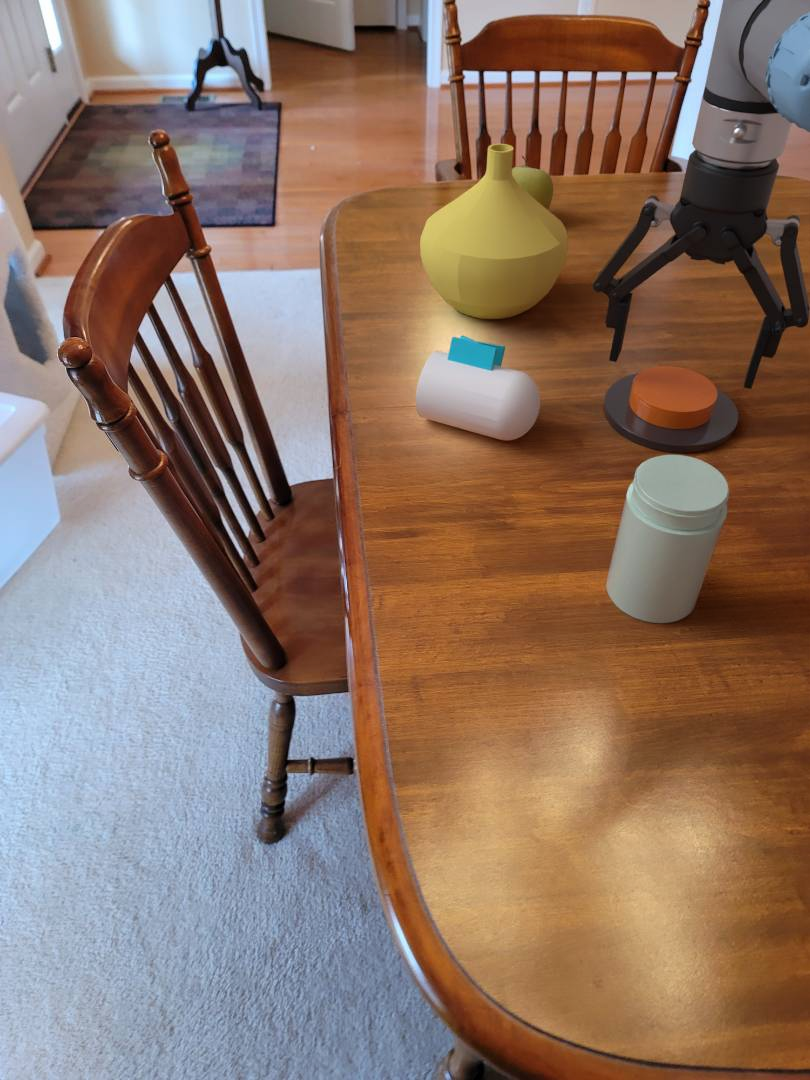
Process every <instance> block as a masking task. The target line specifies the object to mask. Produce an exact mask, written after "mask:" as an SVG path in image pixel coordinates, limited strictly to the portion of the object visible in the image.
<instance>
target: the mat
mask: <svg viewBox="0 0 810 1080" xmlns="http://www.w3.org/2000/svg"><path fill="white" fill-rule="evenodd" d="M638 373H639V372H637V373H633V374H630V375H626V376H624V377H621V378H620V379H618V380H616V381H615V382H614V383H613V384H611V385H610V387H608V389H607V390H606V392H605V395H604V401H603V414H604V417H605V419H606V421H607V423H608V424H609V425H610V426H611V427H612V428H613V429H614V430H615V431H616V432H617V433H618V434H619V435H621V436H622V437H624V438H626V439H628V440H629V441H631V442H633V443H635V444H637V445H640V446H643V447H645V448H648V449H652V450H656V451H661V452H666V453H674V454H694V453H702V452H707V451H710V450H713V449H715V448H716V449H717V448H718V447H721V446H722V445H723V444H725V443H726V442H728V441H729V440H730V439H731V438H732V436H733V435H734V434H735V432H736V429H737V425H738V422H739V412H738V408H737V406H736V404H735V403H734V401H733V400H732V399H731V398H730V397H729V396H728V395H727V394H726V393H725V392H724V391H723V390H721V389H720V388H719V387H717V386H715V387H716V389H717V393H718V396H717V400H716V403H715V406H714V410H713V413H712V416H711V418H710V419H709V420H708V421H707V422H706V423H705V424H703V425H701V426H698V427H695V428H691V429H668V428H663V427H659V426H656V425H653V424H650V423H648V422H646V421H644V420H643V419H641V418H640V417H638V416H637V415H636V414H635V413H634V412H633V411H632V409H631V407H630V404H629V398H630V393H631V388H632V384H633V380H634V378H635V376H636V375H637V374H638Z"/></svg>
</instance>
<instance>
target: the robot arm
mask: <svg viewBox="0 0 810 1080" xmlns="http://www.w3.org/2000/svg"><path fill="white" fill-rule="evenodd" d="M721 4H722V5H721V8H720V14H719V19H718V21H717V22H718V23H717V28H716V32H715V36H714V42H713V47H712V50H711V51H712V52H711V56H710V60H709V65H708V70H707V74H706V80H705V84H704V88H703V93H702V96H701V101H700V106H699V109H698V110H699V111H698V114H697V119H696V124H695V129H694V132H693V138H692V142H691V144H692V146H693V148H694V150H693V151H692V152H691V153H690V154H689V155H688V160H687V165H686V169H685V173H684V178H683V183H682V187H681V192H680V195H679V199H678V201H677V203H676V204H675V205H673V204H670V203H669V204H668V203H665V202H661V201H660V199H659V197H658V196H656V195H649V196H648V197H647V198H646V201H645V202H644V204H643V206H642V208H641V210H640V213H639V217H638V219H637V222H636V223H635V225H634V226H633V227H632V228H631V230H630V231H629V233H628V234H627V235H626V236H625V238H624V239H623V241H622V242H621V243H620V245H619V246H618V248H617V249H616V250H615V251H614V252H613V254H612V256H611V257H610V258H609V259H608V261H607V262H606V263H605V264H604V265H603V267H602V269H601V270H600V272H598V274H597V276H596V278H595V280H594V282H593V284H592V289H593V291H595V292H596V293H603V294H604V295H606V296H607V298H608V306H607V310H606V311H607V312H606V317H605V321H604V322H605V327H606V328H609V329H614V332H613V337H612V342H611V348H610V354H609V359H608V361H609V362H615V363H616V362H617V361H618V359H619V356H620V354H621V352H622V349H623V343H624V338H625V333H626V329H627V323H628V320H629V313H630V308H631V304H632V298H633V294H634V293H633V292H632V291H634V290H635V289H636V288H637V287H639V286H640V285H642V284H643V283H644V282H645V281H647V280H648V279H650V277H651V278H652V276H654V275H655V274H657V272H658V271H660V270H662V269H663V268H664V267H665V266H667V265H668V264H669V263H672V262H673V261H675V260H676V259H678V258H679V257H680V256H682V255H683V254H684V253H685V254H686V255H687V256H688V257H690V260H693V261H711V262H712V263H715V264H718V265H725V264H726V263H730V262H734V264H735V266H736V268H737V269H738V271H739V273H740V274H742V276H743V277H744V279H745V281H746V282H747V284H748V286H749V288H750V290H751V291H752V294H753V295H754V297H755V299H756V301H757V302H758V304H759V306H760V307H761V309H762V311H763V313H764V315H765V316H764V318H763V321H762V323H761V327H760V330H759V332H758V336H757V339H756V343H755V346H754V348H753V352H752V355H751V358H750V360H749V364H748V368H747V369H746V372H745V373H746V374H745V379H744V383H743V389H749V390H752V387H753V385H754V382H755V379H756V376H757V373H758V370H759V366H760V363H761V361H762V358H768V359H773V358H774V356H775V355H776V354H777V352H778V348H779V345H780V343H781V339H782V336H783V334H784V332H785V330H786V329H788V328H790V327H796V328H799V329H801V328H802V329H803V328H805V327H807V326H808V324H809V320H810V319H809V318H810V304H809V299H808V293H807V289H806V284H805V283H806V282H805V278H804V273H803V268H802V264H801V263H802V262H801V258H800V253H799V248H798V242H797V241H798V235H799V229H800V223H801V219H800V217H799V216H797V215H795V214H792V215H789V216H787V218H786V219H775V218H768V214H767V210H768V207H769V203H770V199H771V196H772V193H773V188H774V185H775V182H776V178H777V175H778V172H779V168H780V163H779V162H778V158H780V157H781V156H782V155H783V154H784V151H785V148H786V144H787V141H788V138H789V134H790V131H791V128H792V124H794V125H795V126H796V127H798V128H799V129H802V130H804V131H806V132H808V133H810V0H722V3H721ZM665 220H669V222H670V225H671V227H672V230H673V232H674V234H673V235H672V236H670V238H668V239H667V241H666V242H664V244H662V245H660V247H658V248H657V249H656V250H654V251H653V252H651V254H649V255H648V256H647V257H645V258H644V259H643V260H641V261H640V262H639V263H637V264H636V265H634V267H633V268H632V269H630V270H628V271H627V272H626V273H625V274H624V275H623V276H621V277H620V278H619V277H618V278H615V276H616V275H617V274H618V272H619V271H620V270H621V269H622V267H623V266H624V264H625V263H626V262H627V260H628V259H629V258H630V257H631V256H632V254H633V253H634V252H635V250H636V249H637V248H638V246H639V245H640V244H641V242H642V241H643V240H644V239H645V238H646V236H647V234H648V232H649V230H650V228H657V227H659V226H660V225H661V224H662V222H664V221H665ZM764 235H768V236H770V238H771V242H772V244H773V246H775V247H780V249H779V257H780V263H781V267H782V273H783V277H784V282H785V287H786V291H787V296H788V301H789V306H790V308H787V307H786V305H785V304H784V302H783V300H782V297H781V296H780V294H779V293H778V291H777V288H776V287H775V285H774V283H773V282H772V280H771V278H770V276H769V274H768V272H767V270H766V268H765V267H764V265H763V263H762V261H761V259H760V258H759V255H758V251H757V249H756V247H755V244H756V243H757V242H759V240H761V239H762V238H763V237H764Z"/></svg>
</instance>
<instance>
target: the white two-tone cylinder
mask: <svg viewBox="0 0 810 1080" xmlns="http://www.w3.org/2000/svg"><path fill="white" fill-rule="evenodd" d="M449 346H450V347H449V351H448V352H446V351H445V352H444V351H440V350H435V351H433V352H432V353H430V355H429V356H428V357H427V359H426V361H425V362H424V365H423V367H422V369H421V373H420V375H419V378H418V382H417V386H416V393H415V410H416V413H417V415H418V417H420V418H422V419H424V420H425V419H426V420H429V421H433V422H436V423H440V424H444V425H447V426H451V427H454V428H458V429H461V430H465V431H468V432H472V433H475V434H479V435H482V436H486V437H489V438H493V439H497V440H500V441H513V440H517V439H518V438H521V437H523V436H524V435H525V434H526V433H528V432H529V431H530V430H531V429H532V428H533V426H534V425H535V423H536V421H537V419H538V417H539V413H540V409H541V395H540V390H539V388H538V385H537V383H536V381H535V380H534V379H533V378H532V377H531V376H530V375H529V374H527V373H525V372H523V371H521V370H518V369H517V370H516V369H513V368H509V367H504V366H502V364H503V360H504V356H505V351H506V345H500V344H494V343H488V342H483V341H478V340H474V339H472V338H470V337H468V336H466V335H464V334H462V335H460V336H459V337H456V336H452V337H451V342H450V345H449Z"/></svg>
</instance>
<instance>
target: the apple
mask: <svg viewBox="0 0 810 1080" xmlns="http://www.w3.org/2000/svg"><path fill="white" fill-rule="evenodd" d="M521 158H522V159H523V160H524V162H525V164H526V165H517V166H514V167H512V176H513V177H514V179H515V180H516V182H517V183H518V185H520V186H521V187H522V188H523V189H524V190H525V191H526V192H527V193H528V194H530V195H531V196H532V197H533V198H534V199H535V200H536V201H537V202H538V203H540V204H541V205H542V206H543V207H544V208H546V209H547V210H548V211H549V210H550V207H551V203H552V200H553V195H554V185H553V180H552V177H551V176H550V174H549V173H548V172H546V171H545V170H542V169H539V168H535V167H534V168H533V167H530V166H529V164H528V162H527V160H526V158H525V157H524V155H522V156H521Z"/></svg>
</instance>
